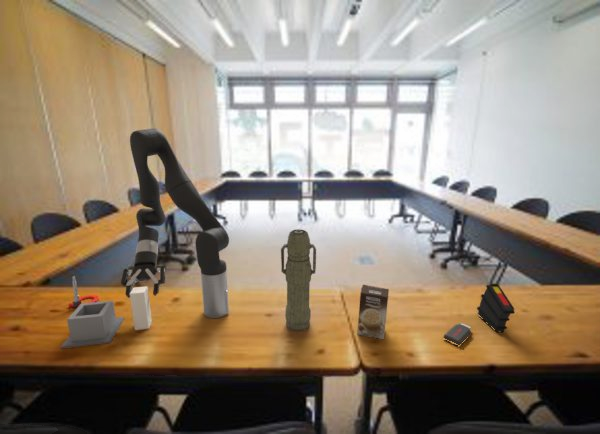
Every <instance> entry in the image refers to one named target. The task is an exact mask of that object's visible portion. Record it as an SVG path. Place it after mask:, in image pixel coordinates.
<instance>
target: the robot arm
mask: <svg viewBox="0 0 600 434" xmlns="http://www.w3.org/2000/svg"><path fill="white" fill-rule="evenodd" d="M129 145H130V151H131V154H132V159H133V163H134V167H135V171H136V174H137V180H138V187H139V200H140V204H141V205H142V206H144V207H145V208H140V209H139V210H138V211H137V212H136V216H135V217H136V223H137V226H138V239H137V244H136V250H135V256H134V263H133V268H132V269H128V268H124V269H123V272H122V277H121V281H120V285H122V287H124V288H125V287H126V288H125V296H126V297H127V298H128V299H130V292H131V291H132V289H133V286H134V285H135V284H137V283H138V282H143V281H150V280H152V281H153V283H154V284H153V289H152V296H154V297H157V296H158V294H159V292H160V285H162V284H165V283H166V268H165V266H160V267H157V265H158V264H157V263H158V254H159V246H158V245H159V234H160V233H159V231H158V230H157V229H155V228H154V227H160V226H163V225H164V223H165V221H166V215H165V211H164V209H163V207H162V204H161V197H160V195H161V194H160V193H161V192H160V191H161V189H160V184H159V182H158V179H157V178H156V177H155V175H154V174H153V173H152V171H151V170H150V168H149V165H148V158H149V157H151V156H158V158H159V159H160V161H161V163H162V165H163V167H164V187H165V190H166V192H167V195H168V196H169V197H170V199H171V201H172V202H173V203H174V205H175V206H176V207H177V209H179V210H180V211H182V212H183V213H185V214H186V215H188V217H191V218H192V219H193V220H194V221H195V222H197V224H198V225H199V226H200V228H201V229H202V231H200V232H199V233H198V234H197V236H196V238H195V251H196V258H197V259H196V260H197V265H198V266H199V269H200V277H201V292H202V304H203V305H202V306H203V315H204V316H205V317H206V318H209V319H219V318H223V317H224V316H228V315H229V314H230V309H229V307H230V304H229V286H228V275H227V274H228V272H227V271H228V270H227V263H226V261H225V260H223V259H220V252H221V251H223V250H225V249H226V248H227V247H228V245H229V243H230V237H229V234H228V232H227V231H226V229H225V228H224V226H223V225H222V224H221V222H219V220H218V218H216V216H215V215H214V214H213V213H212V211H211V210H210V208H209V207H208V205H207V204H206V202H205V201H204V199H203V198H202V196H201V194H200V193H199V191H198V189H197V188H196V186H195V185H194V183H193V182H192V181H191V179H190V177H189V176H188V174H187V173H186V171H185V169H184V167H183V166H182V164H181V162H179V160H178V157H177V155H176V154H175V152H174V150H173V148H172V147H171V144H170V142H169V141H168V139H167V136H165V134H164V133H163V131H161V129H158V128H145V129H138V130H135V131H133V132H131V134H130V136H129ZM152 227H153V228H152ZM157 273H159V274H160V275H159V277H160V279H157V278H156V276H155V275H156V274H157ZM132 274H133V275H132ZM131 275H132V276H131ZM130 276H131V278H130V279H129V277H130Z"/></svg>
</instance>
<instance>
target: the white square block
mask: <svg viewBox="0 0 600 434" xmlns="http://www.w3.org/2000/svg"><path fill="white" fill-rule="evenodd" d="M129 299H130V305H131V312H132V313H131V314H132V320H133V327H134V331H140V330H149V329H150V326H151V324H152V322H153V321H152V313H151V304H150V295H149V289H148V286H147V285H146V286H137V287H135V286H134V287H132V291H131V292H130V298H129Z"/></svg>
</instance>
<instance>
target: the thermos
mask: <svg viewBox="0 0 600 434" xmlns="http://www.w3.org/2000/svg"><path fill="white" fill-rule="evenodd" d="M286 242H287V243H284V244H283V245H282V247H281V248H280V256H281V257H280V260H281V263H280V264H281V273H282V274H283V275H285V281H286V306H285V327H286V328H287V329H289V330H290V331H293V332H294V331H295V332H302V331H305V330H307V329H308V328H309V327H311V326H310V325H311V312H312V310H311V308H310V288H311V287H310V283H311V280H312V276H313V275H314V274H316V269H317V248H316V247H315V244H313V243H311V239H310V236H309V233H308V231H306V230H305V229H301V228H300V229H299V228H298V229H293V230H291V231H290V232H289V234H288V236H287V241H286ZM285 249H287V251H286V253H287V256H286V257H287V258H286V259H287V261H286V263H285ZM311 249H312V251H313V252H312V264H311V260H310V259H311V258H310V254H311Z"/></svg>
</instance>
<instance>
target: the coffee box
mask: <svg viewBox="0 0 600 434" xmlns="http://www.w3.org/2000/svg"><path fill="white" fill-rule="evenodd" d="M389 293H390V291H389V288H385V287H379V286H373V285H367V284H362V286H361V289H360V295H359V296H360V297H359V308H358V309H359V310H358V318H357V319H358V320H357V332H356V334H357V335H359V336H364V337H367V336H368V338H372V337H374V338H373V339H376V338H379V339H378V340H381V339H385V331H386V323H387V321H386V320H387V311H388V302H389Z"/></svg>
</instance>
